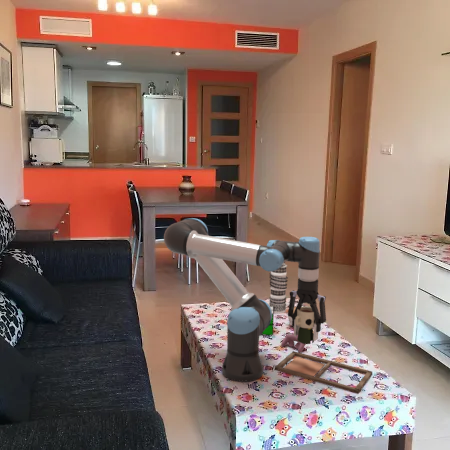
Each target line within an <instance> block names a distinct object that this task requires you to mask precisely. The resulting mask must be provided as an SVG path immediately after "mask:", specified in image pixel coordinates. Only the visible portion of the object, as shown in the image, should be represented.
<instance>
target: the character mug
mask: <svg viewBox="0 0 450 450" xmlns="http://www.w3.org/2000/svg"><path fill="white" fill-rule="evenodd" d="M314 323H316V321H315V318H314V312H312V308H311V307H310V306H302V307H301V309H300V310H299V309H297V317H296V319H295V324H296V325H298V326H299V327H300V328H299V332H298V338H297V340H298V341H299V342H301V343H302V344H306V345H310V344H311V342H312V344H313V343H315V341H313V335H314Z"/></svg>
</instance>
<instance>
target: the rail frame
mask: <svg viewBox="0 0 450 450" xmlns="http://www.w3.org/2000/svg"><path fill="white" fill-rule="evenodd" d="M331 366H333V367H337V368H341V369H344V370H348V371H352V372H357V373H360V374H364V376H363V377H362V379H360V380H359V382H358V384H357V385H356V386H355V387H354V386H351V385H346V384H344V383H340V382H336V381H333V380H329V379H325V378H322V377H321V376H323V374H325V372H326V371H327V370H328V369H329V367H331ZM273 370H275V371H277V372H282V373H285V374H288V375H293V376H295V377H299V378H303V379H306V380H309V381H313V382H316V383H319V384H323V385H327V386H330V387H334V388H337V389H342V390H345V391H349V392H351V393H355V394H359V393H360V392H361V390H362V389H363V387H364V386H365V385H366V384H367V382H368V381H369V379H370V378H371V376H372V375H373V371H372V370H368V369H364V368H360V367H356V366H352V365H349V364H345V363H340V362H337V361H333V360H329V359H326V358H325V359H324V358H323V357H322V358H321V357H317V356H313V355H309V354H305V353H303V352H300V353H298V351H292V352H291V353H289V354H288V355H287V356H286V357H285V358H284V359H282V360H281V361H280V362H279V363H278V364H276V365H275V366H274V369H273Z"/></svg>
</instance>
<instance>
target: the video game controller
mask: <svg viewBox="0 0 450 450" xmlns="http://www.w3.org/2000/svg"><path fill="white" fill-rule="evenodd" d="M297 338H298V335H297V336H294V332H293V333H290V332H289V333H287V334H286V335H285V337H284V338H283V340H282V341H281V342H280V343H281V344H280V346H281V348H284V347H285V346H286V345H287V344H288V346H289V347H291V348H293V347H294V348H295V349H296V350H297V352H298V353H303V350H304V349H305V346H306V345H307V344H302V343H301V342H299V341H298V340H297ZM295 342H296V343H295Z"/></svg>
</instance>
